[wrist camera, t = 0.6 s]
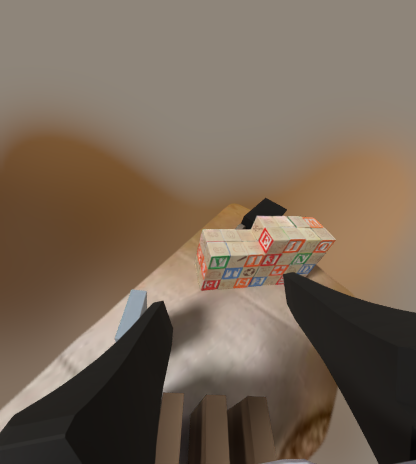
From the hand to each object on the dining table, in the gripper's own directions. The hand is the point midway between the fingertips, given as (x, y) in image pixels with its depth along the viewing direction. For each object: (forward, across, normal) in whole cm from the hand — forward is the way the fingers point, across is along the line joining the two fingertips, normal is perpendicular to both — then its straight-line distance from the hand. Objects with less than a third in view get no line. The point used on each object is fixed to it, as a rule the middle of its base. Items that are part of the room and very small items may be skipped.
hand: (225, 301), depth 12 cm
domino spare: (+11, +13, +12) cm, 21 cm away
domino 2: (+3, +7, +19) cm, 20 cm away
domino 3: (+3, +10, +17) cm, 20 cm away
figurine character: (+36, -9, +10) cm, 39 cm away
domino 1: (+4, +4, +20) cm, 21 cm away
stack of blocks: (+26, -5, +13) cm, 29 cm away
